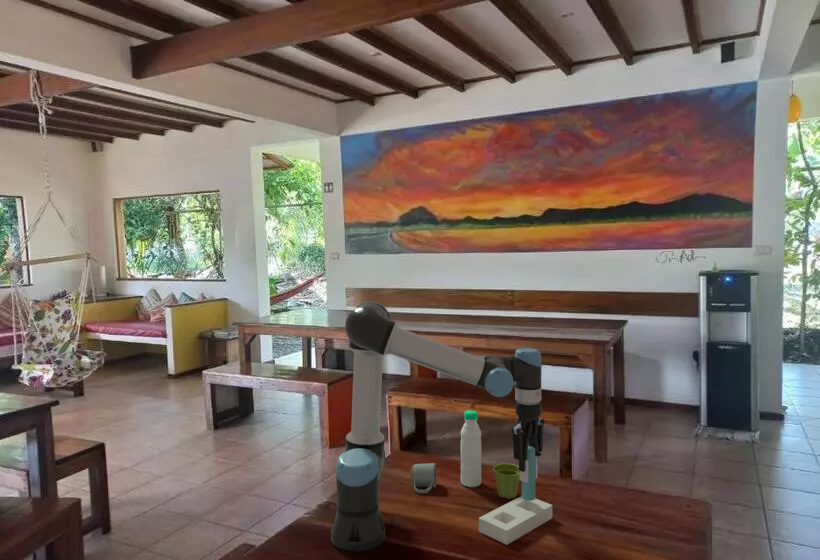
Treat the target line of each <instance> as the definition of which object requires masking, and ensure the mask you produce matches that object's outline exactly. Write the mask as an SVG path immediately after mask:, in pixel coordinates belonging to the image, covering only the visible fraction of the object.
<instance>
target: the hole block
mask: <svg viewBox="0 0 820 560" xmlns="http://www.w3.org/2000/svg"><path fill="white" fill-rule="evenodd" d="M552 519H553V504H551V503H547V502H546V501H543V500H540V499H537V498H535V499H534V500H531V501H528V500H524V499H522V495H521V496H519V497H517V498H514V499H513V500H511V501H509V502H507V503H505V504H503V505H501V506H500V507H497V508H495V509H492V510H491V511H489V512H488V513H485V514H484V515H482V516H480V517H478V533H481V534H483V535H485V536H487V537H489V538H491V539H493V540H496V541H498V542H500V543H502V544H504V545H509V544H511V543H512V542H514V541H516V540H517V539H519V538H521V537H523V536H525V535H526V534H528V533H529V532H531V531H533V530H535V529H536V528H538V527H539V526H540V527H541V525H543V524H545V523H546V522H548V521H550V520H552Z"/></svg>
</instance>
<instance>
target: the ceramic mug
mask: <svg viewBox="0 0 820 560" xmlns="http://www.w3.org/2000/svg"><path fill="white" fill-rule="evenodd" d="M410 471H411V472H410V473H411V476H410V477H411V478H410V479H411V480H410V481H411V485H412V486H413V488H414V491H415V492H416V493H418V494H420V495H423V494H427V493H429V492H430V491H431V490H432V488H436V487H437V465H436V463H435V462H432V463H416V464H413V465H412V466H411V470H410ZM418 487H420V488H421V487H423V488H424V487H425V488H426V489H419V488H418Z"/></svg>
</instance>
